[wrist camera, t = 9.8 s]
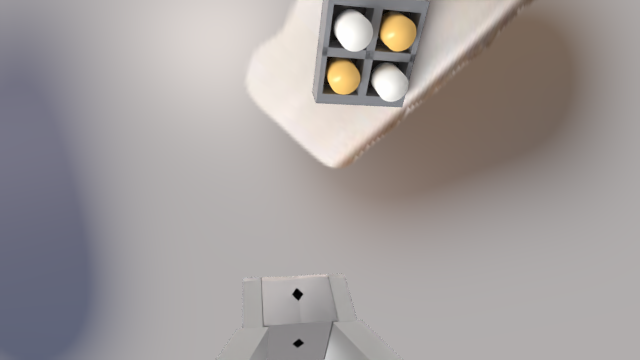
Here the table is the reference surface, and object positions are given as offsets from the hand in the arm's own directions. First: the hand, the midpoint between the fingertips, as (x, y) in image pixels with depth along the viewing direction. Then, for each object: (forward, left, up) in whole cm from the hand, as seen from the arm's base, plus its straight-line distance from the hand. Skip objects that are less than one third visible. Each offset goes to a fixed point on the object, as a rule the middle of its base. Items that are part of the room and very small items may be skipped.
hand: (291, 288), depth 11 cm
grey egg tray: (0, +10, -29) cm, 31 cm away
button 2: (+3, +12, -27) cm, 30 cm away
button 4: (-2, +12, -28) cm, 31 cm away
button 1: (+3, +8, -28) cm, 30 cm away
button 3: (-2, +8, -27) cm, 28 cm away
